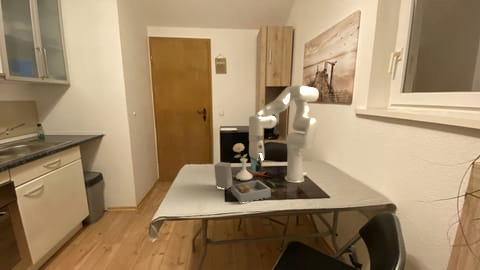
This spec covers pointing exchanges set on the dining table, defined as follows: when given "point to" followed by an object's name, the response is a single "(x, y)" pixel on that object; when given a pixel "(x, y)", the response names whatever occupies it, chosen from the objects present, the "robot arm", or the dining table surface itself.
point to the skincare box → (223, 175)
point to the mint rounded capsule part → (254, 165)
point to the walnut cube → (244, 189)
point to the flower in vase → (244, 173)
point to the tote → (252, 191)
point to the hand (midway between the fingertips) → (256, 169)
